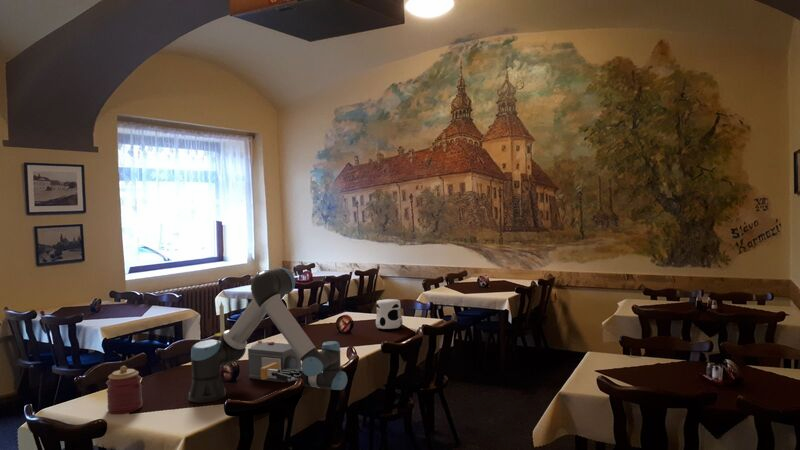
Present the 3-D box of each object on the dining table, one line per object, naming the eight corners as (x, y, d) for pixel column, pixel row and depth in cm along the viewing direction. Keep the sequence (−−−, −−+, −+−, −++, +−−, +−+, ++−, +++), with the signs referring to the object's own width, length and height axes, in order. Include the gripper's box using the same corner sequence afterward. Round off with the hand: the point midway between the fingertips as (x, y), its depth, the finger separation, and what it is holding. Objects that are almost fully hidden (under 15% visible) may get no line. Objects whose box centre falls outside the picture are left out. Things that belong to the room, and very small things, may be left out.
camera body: (285, 383, 261) (284, 351, 260) (248, 378, 270) (246, 347, 270) (304, 374, 274) (303, 343, 274) (267, 370, 284) (266, 340, 283)
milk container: (372, 327, 375) (372, 300, 375) (398, 324, 381) (397, 298, 380) (380, 332, 359) (379, 304, 358) (406, 330, 364) (405, 302, 363)
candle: (213, 366, 294) (210, 303, 292) (214, 361, 303) (211, 300, 302) (233, 364, 296) (231, 301, 295) (234, 359, 306) (231, 299, 305)
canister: (148, 402, 241) (146, 361, 240) (134, 413, 228) (132, 369, 227) (116, 404, 240) (114, 362, 240) (101, 415, 227) (99, 371, 227)
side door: (264, 386, 251) (264, 365, 250) (246, 383, 255) (246, 363, 255) (281, 378, 261) (280, 358, 261) (263, 376, 266) (263, 356, 265)
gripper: (304, 390, 236) (258, 384, 247) (321, 381, 248) (277, 376, 258) (303, 372, 236) (257, 367, 246) (320, 364, 248) (276, 359, 258)
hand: (267, 372), depth 252 cm, fingers closed
